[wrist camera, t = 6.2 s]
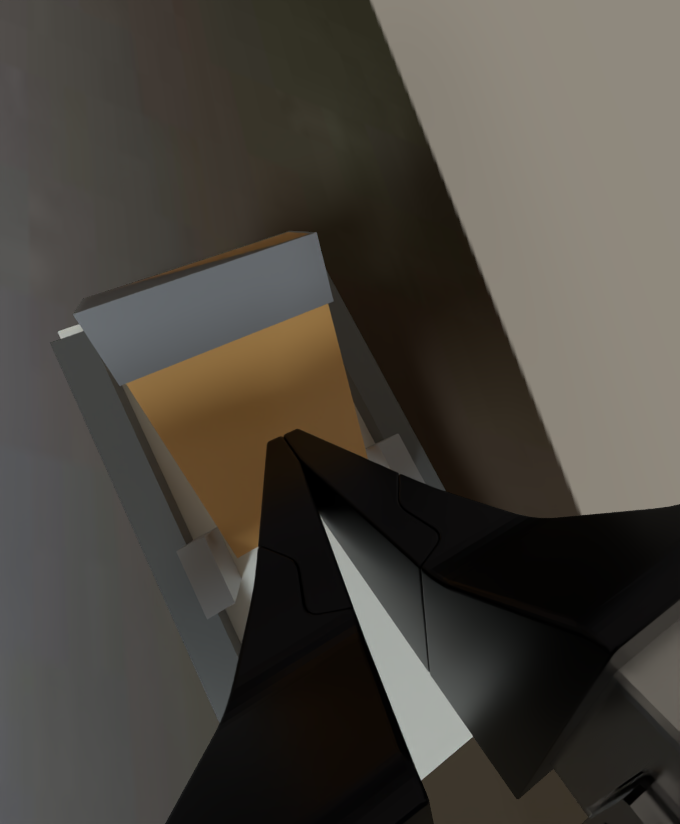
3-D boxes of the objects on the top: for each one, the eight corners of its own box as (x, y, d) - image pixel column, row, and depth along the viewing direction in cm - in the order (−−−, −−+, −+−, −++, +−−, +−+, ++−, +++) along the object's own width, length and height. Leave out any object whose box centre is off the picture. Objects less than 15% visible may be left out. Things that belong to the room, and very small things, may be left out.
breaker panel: (490, 651, 17) (603, 732, 11) (296, 802, 15) (315, 1006, 9) (296, 284, 19) (309, 195, 13) (94, 359, 17) (1, 288, 11)
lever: (378, 482, 13) (316, 232, 8) (235, 563, 11) (72, 314, 7) (353, 456, 14) (289, 230, 10) (224, 524, 13) (83, 298, 8)
